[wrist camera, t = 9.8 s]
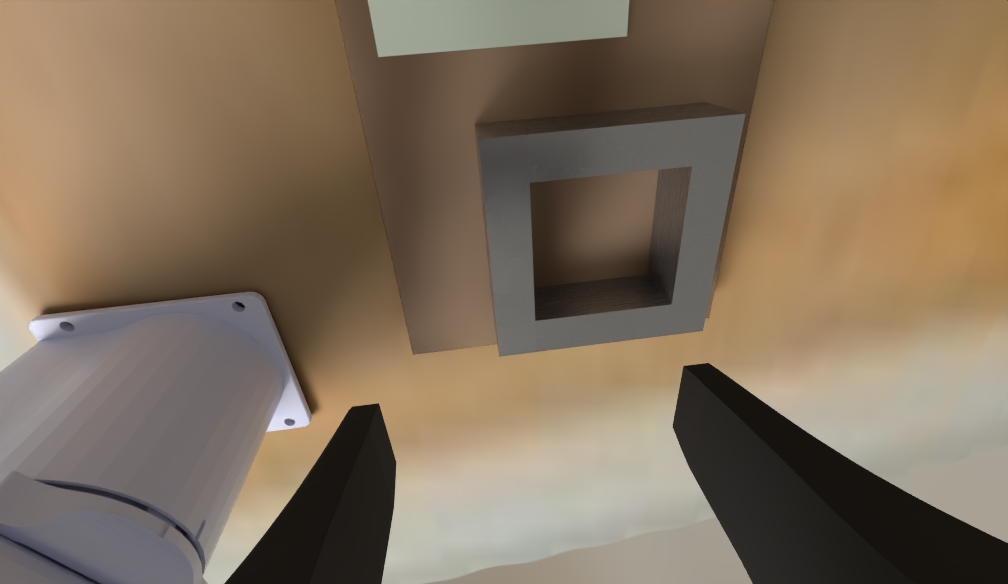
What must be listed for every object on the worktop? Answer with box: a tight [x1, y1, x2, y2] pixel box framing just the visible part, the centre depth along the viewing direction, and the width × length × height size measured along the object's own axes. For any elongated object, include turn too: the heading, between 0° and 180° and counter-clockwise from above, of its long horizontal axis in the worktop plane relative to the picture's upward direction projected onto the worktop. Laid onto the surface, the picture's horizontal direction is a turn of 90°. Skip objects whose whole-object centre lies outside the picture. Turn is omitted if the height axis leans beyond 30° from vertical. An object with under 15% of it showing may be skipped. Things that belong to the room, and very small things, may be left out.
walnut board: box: [335, 0, 773, 355], centre depth 16 cm, size 14×21×2 cm, turn 4°
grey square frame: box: [474, 102, 745, 356], centre depth 17 cm, size 8×8×2 cm
